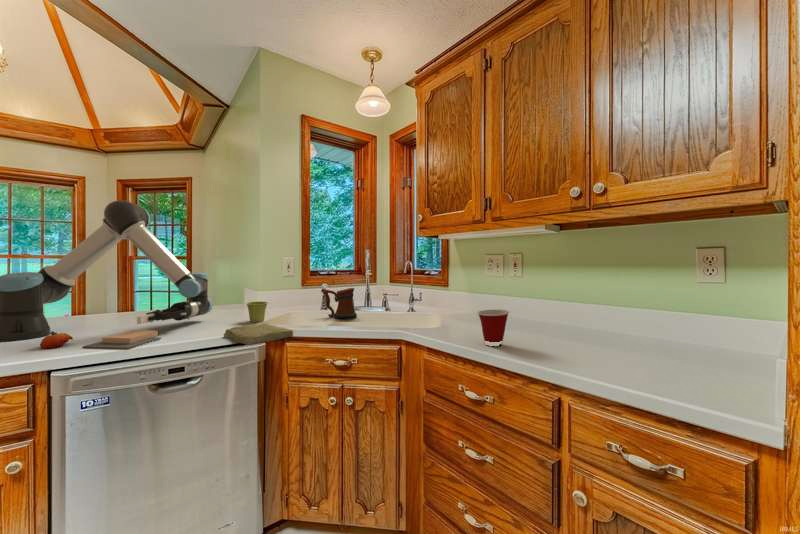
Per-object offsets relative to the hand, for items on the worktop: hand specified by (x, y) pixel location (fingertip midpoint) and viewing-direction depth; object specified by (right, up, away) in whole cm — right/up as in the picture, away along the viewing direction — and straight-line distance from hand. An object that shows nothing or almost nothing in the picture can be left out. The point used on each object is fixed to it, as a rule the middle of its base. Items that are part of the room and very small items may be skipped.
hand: (138, 320), depth 127 cm
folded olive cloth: (+40, -8, +6) cm, 41 cm away
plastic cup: (+127, -8, -4) cm, 127 cm away
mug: (+64, -6, +49) cm, 81 cm away
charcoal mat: (-1, -7, -6) cm, 9 cm away
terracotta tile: (0, -5, +3) cm, 6 cm away
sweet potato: (-20, -7, -10) cm, 24 cm away
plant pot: (+28, -6, +37) cm, 47 cm away
